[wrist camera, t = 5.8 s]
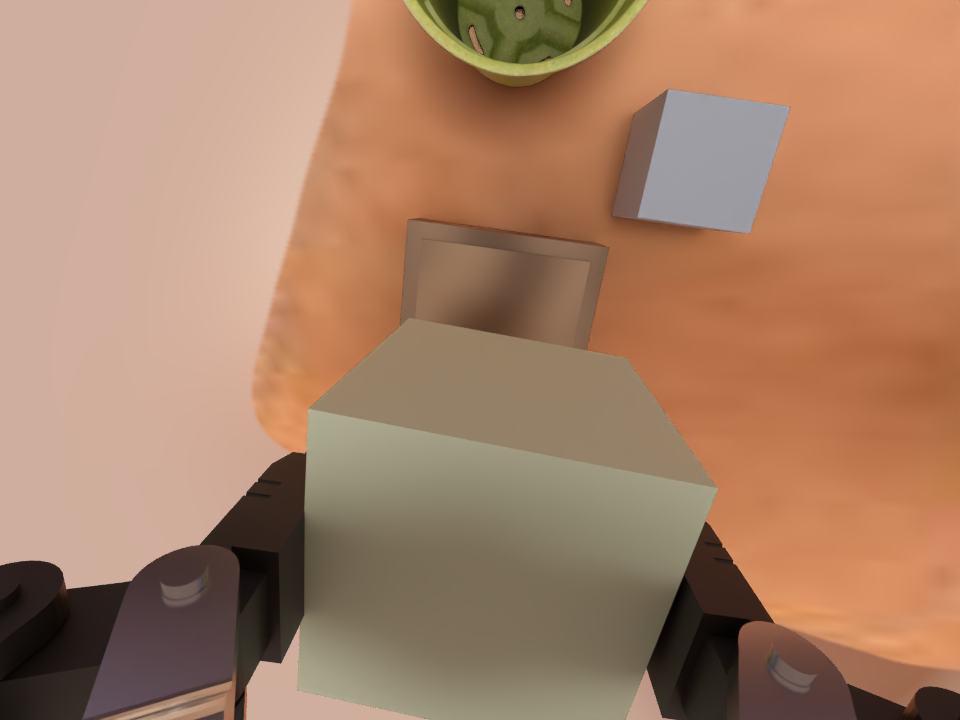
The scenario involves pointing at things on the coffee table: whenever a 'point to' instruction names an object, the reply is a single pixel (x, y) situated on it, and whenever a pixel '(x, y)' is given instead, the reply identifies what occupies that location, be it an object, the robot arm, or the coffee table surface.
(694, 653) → the robot arm
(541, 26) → the plant pot
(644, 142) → the slate block
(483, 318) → the walnut square pad
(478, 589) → the sage block
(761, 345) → the coffee table surface
